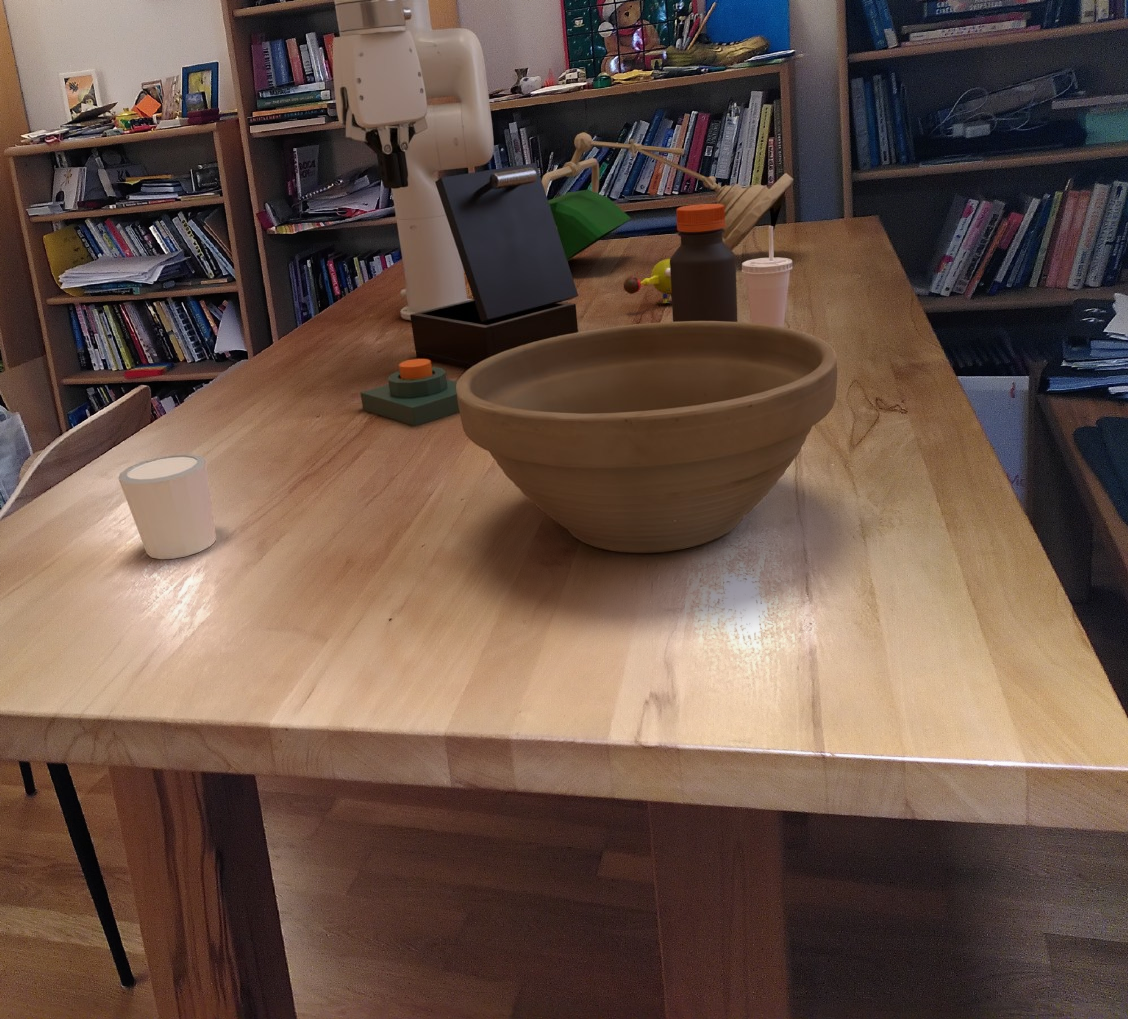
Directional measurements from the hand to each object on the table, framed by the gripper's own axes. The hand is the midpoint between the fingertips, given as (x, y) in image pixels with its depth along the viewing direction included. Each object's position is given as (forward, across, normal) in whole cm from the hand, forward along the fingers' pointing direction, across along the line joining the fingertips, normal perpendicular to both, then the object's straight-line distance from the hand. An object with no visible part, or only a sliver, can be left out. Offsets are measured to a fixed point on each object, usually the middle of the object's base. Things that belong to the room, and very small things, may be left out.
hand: (395, 186), depth 126 cm
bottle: (+23, -11, +39) cm, 47 cm away
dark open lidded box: (+23, -11, +1) cm, 26 cm away
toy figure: (+24, -45, +1) cm, 51 cm away
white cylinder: (+22, +45, +30) cm, 58 cm away
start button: (+19, +10, +14) cm, 26 cm away
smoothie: (+23, -35, +28) cm, 51 cm away
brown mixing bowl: (+22, +17, +58) cm, 64 cm away
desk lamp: (+25, -70, -24) cm, 78 cm away
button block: (+23, +10, +14) cm, 28 cm away
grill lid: (+8, -12, +5) cm, 15 cm away
